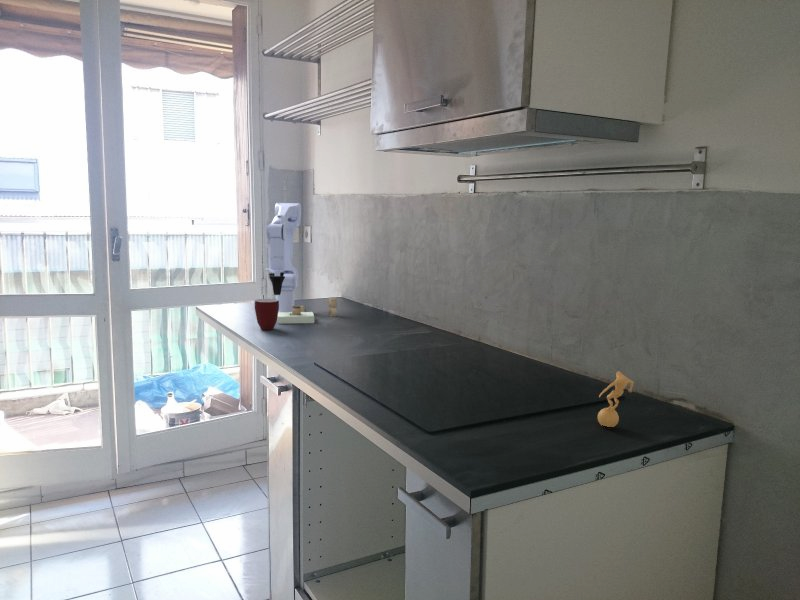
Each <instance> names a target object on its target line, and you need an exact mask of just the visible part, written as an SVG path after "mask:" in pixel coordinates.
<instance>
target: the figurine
mask: <svg viewBox="0 0 800 600" xmlns="http://www.w3.org/2000/svg"><path fill="white" fill-rule="evenodd" d="M615 377H616V379H615V380H614V381H613V382H611V383H609V385H608V386H607V387H606V388H604V389H603V390H602V392H600V394H599V396H598V398H601V396H602V395H604V393H606V392H608V390H609V389H610V388H612V387H615V388H614V389H612V390H611V392H609V394H607V396H606V399H607V400H606V401H607V402H608V404H609V406H608V407H604V408H602V409H600V411H598V413H597V422H598V423H599V424H600V426H602V425H603V426H607V427H612V428H614V427H616V425H618V424H619V422H620V420H619V417H620V416H619V414H618V412H617V411H616V410H615V409H616V408H617V407H618V406H619V403H620V401H619V399H618V398H619V397H621V396H622V395H623V394H624V390H625V388H626V387H627V386H628V384H630V386H629V388H628V389H627V390H628V391H627V392H629V393H632V392H633V387H634V384H635V382H634V381H633V380H632V379H630V378H628V377H627V376H626V375H624V374H623V373H622V372H621V371H620V370H618V371H617V372H616V374H615ZM612 399H613V400H614V403H615V404H614V405H613V400H612ZM603 426H602V427H603Z"/></svg>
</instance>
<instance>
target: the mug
mask: <svg viewBox="0 0 800 600" xmlns="http://www.w3.org/2000/svg"><path fill="white" fill-rule="evenodd" d="M254 311H255V316H256V317H255V318H256V322H257V324H258V326H259V327H260V330H262V331H272V330H274V329H275V327H276V325H277V323H278V311H279V300H277V299H276V298H259V299H255V300H254Z"/></svg>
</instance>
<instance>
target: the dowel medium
mask: <svg viewBox="0 0 800 600" xmlns="http://www.w3.org/2000/svg"><path fill="white" fill-rule="evenodd" d="M301 306H302V305H294V306H292V315H301Z"/></svg>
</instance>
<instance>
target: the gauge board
mask: <svg viewBox="0 0 800 600" xmlns="http://www.w3.org/2000/svg"><path fill="white" fill-rule="evenodd" d="M277 324H287V325H288V324H315V315H314V312H313V311H307V312H306V311H305V312H301V315H292V312H278V317H277Z"/></svg>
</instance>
